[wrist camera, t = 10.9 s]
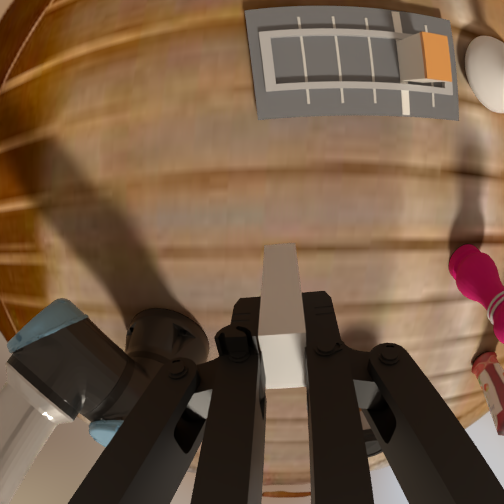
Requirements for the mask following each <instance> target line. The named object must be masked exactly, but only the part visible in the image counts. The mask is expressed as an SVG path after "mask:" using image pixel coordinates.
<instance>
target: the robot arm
mask: <svg viewBox="0 0 504 504" xmlns="http://www.w3.org/2000/svg"><path fill="white" fill-rule="evenodd" d="M214 338H215V342H216V345H217V349H218V353H219V357H218V358H216V359H214V360H212V361H209V362H206V361H207V357H208V354H209V342H208V339H207V337H206V335H205V334H204V332H203V331H202V330H201V328H200V327H199V326H198V325H197V324H196V323H194V322H193V321H192V320H190V319H189V318H187V317H186V316H184V315H182V314H179V313H177V312H174V311H171V310H167V309H148V310H145V311H142V312H140V313H139V314H137V315H136V316H135V318H134V319H133V321H132V322H131V324H130V326H129V328H128V331H127V336H126V346H125V352H124V351H123V350H122V349H121V348H119V347H118V346H117V345H116V344H115V343H114V342H113V341H112V340H111V339H110V338H108V337H107V336H106V335H105V334H104V333H103V332H102V331H101V330H100V329H99V328H98V327H97V326H96V325H95V324H94V323H93V322H92V321H91V320H90V319H89V318H88V315H86V314H84V313H83V312H82V311H81V310H79V309H78V308H77V307H76V306H75V305H74V304H73V303H72V302H71V301H70V300H68V299H65V298H60V299H57V300H55V301H54V302H52V303H51V304H50V305H48V306H47V307H46V308H45V309H43V310H42V311H41V312H40V313H39V314H37V315H36V316H35V317H34V318H33V319H32V320H31V321H30V322H28V323H27V324H26V325H25V326H24V327H23V328H22V329H21V330H20V331H19V332H18V333H17V334H16V335H15V336H14V337H13V338H12V339H11V340H10V341H9V342H8V344H7V347H8V349H9V352H10V353H13V354H12V356H11V357H10V358H9V360H8V361H7V362H6V373H7V382H6V383H5V385H4V386H3V388H2V389H1V390H0V504H9V503H10V501H11V500H12V498H13V496H14V494H15V493H16V491H17V489H18V487H19V486H20V484H21V482H22V480H23V479H24V477H25V475H26V474H27V472H28V470H29V468H30V467H31V465H32V463H33V462H34V460H35V459H36V457H37V456H38V454H39V452H40V450H41V449H42V447H43V446H44V444H45V443H46V441H47V440H48V438H49V436H50V435H51V433H52V432H53V430H54V429H55V427H56V426H57V425H58V424H60V423H70V422H73V421H74V419H75V418H76V416H77V415H78V413H80V414H82V415H83V416H84V417H86V418H87V419H88V420H90V421H91V423H90V425H89V434H90V435H91V436H92V437H93V438H94V440H95V441H97V442H98V443H100V444H101V445H103V446H104V447H106V448H105V450H104V451H103V452H102V454H101V455H100V457H99V458H98V460H97V461H96V463H95V464H94V466H93V467H92V469H91V470H90V471H89V473H88V474H87V476H86V478H85V479H84V480H83V482H82V483H81V485H80V486H79V488H78V489H77V491H76V492H75V494H74V495H73V497H72V498H71V499H70V501H69V502H68V504H170V502H171V500H172V498H173V496H174V495H175V493H176V491H177V489H178V487H179V485H180V483H181V481H182V479H183V477H184V475H185V474H186V472H187V470H188V468H189V466H190V464H191V462H192V460H193V458H194V456H195V454H196V452H197V450H198V448H199V446H200V444H201V442H202V446H201V451H200V456H199V462H198V467H197V472H196V477H195V483H194V489H193V493H192V499H191V504H261V499H262V483H263V465H264V445H265V424H266V402H267V401H266V395H265V386H266V389H278V388H294V387H307V410H308V429H309V450H310V476H311V504H374V500H373V491H372V484H371V477H370V470H369V463H368V457H367V451H366V445H365V439H364V433H363V427H362V422H361V417H360V411H359V408H361V410H362V412H363V414H364V416H365V418H366V420H367V422H368V424H369V425H370V427H371V429H372V431H373V433H374V435H375V437H376V439H377V441H378V443H379V445H380V447H381V449H382V451H383V453H384V455H385V457H386V458H387V460H388V462H389V464H390V466H391V468H392V470H393V472H394V474H395V476H396V478H397V480H398V482H399V484H400V486H401V488H402V490H403V492H404V494H405V496H406V498H407V500H408V502H409V504H504V489H503V487H502V486H501V484H500V482H499V481H498V479H497V478H496V476H495V475H494V473H493V471H492V470H491V468H490V467H489V465H488V464H487V463H486V461H485V459H484V458H483V456H482V455H481V453H480V452H479V450H478V449H477V447H476V446H475V444H474V443H473V441H472V440H471V438H470V437H469V435H468V434H467V432H466V431H465V429H464V428H463V427H462V425H461V424H460V422H459V421H458V419H457V418H456V417H455V415H454V414H453V412H452V411H451V410H450V408H449V407H448V405H447V404H446V403H445V401H444V400H443V399H442V397H441V396H440V394H439V393H438V392H437V390H436V389H435V388H434V386H433V385H432V384H431V382H430V381H429V380H428V378H427V377H426V376H425V374H424V373H423V372H422V370H421V369H420V368H419V366H418V365H417V364H416V363H415V361H414V360H413V359H412V357H411V356H410V355H409V353H408V352H407V351H406V350H405V349H404V348H403V347H402V346H400V345H397V344H395V343H383V344H379V345H377V346H375V347H374V348H373V349H372V350H371V352H363V351H357V350H353V349H351V348H349V347H348V346H346V345H345V344H344V342H343V341H342V340H341V338H340V333H339V329H338V325H337V320H336V316H335V312H334V308H333V304H332V300H331V297H330V296H329V295H328V294H327V293H326V292H325V291H317V292H305V293H301V285H300V277H299V269H298V261H297V253H296V246H295V243H287V244H275V245H265V247H264V261H263V275H262V289H261V297H250V298H240V299H239V300H238V301H237V303H236V304H235V305H234V309H233V315H232V319H231V324H230V325H228V326H226V327H224V328H222V329H221V330H219V331H218V332H217V334H216V335H215V337H214ZM202 440H203V441H202Z"/></svg>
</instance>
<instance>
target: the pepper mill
mask: <svg viewBox="0 0 504 504" xmlns="http://www.w3.org/2000/svg"><path fill="white" fill-rule="evenodd" d="M449 271H450V274H451V275H452V276H453V278H454V279H455V280H456V285H457V287H458V289H459V291H460V292H461V293H462V294H463V295H464V296H465V297H467V298H469V299H471V300H474V301H477V302H479V303H481V304H482V305H483V306H484V307H485V309H486V310H487V317H488V319H489V320H490V321H491V323H492V324H493V330H494V333H495V336H496V337H497V339H498V340H499V341H500V342H502V343H503V344H504V286H503V285H502V283H501V281H500V278H499V274H498V270H497V267H496V265H495V263H494V261H493V260H492V259H491V258H490V256H489V255H487V254H485V253H481V252H480V251H479V250H478V249H477V248H476V247H475V246H474V245H471V244H466V245H463V246H461V247H459V248H458V249H457V250H456V251H455V252H454V253H453V255H452V257H451V259H450V262H449Z"/></svg>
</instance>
